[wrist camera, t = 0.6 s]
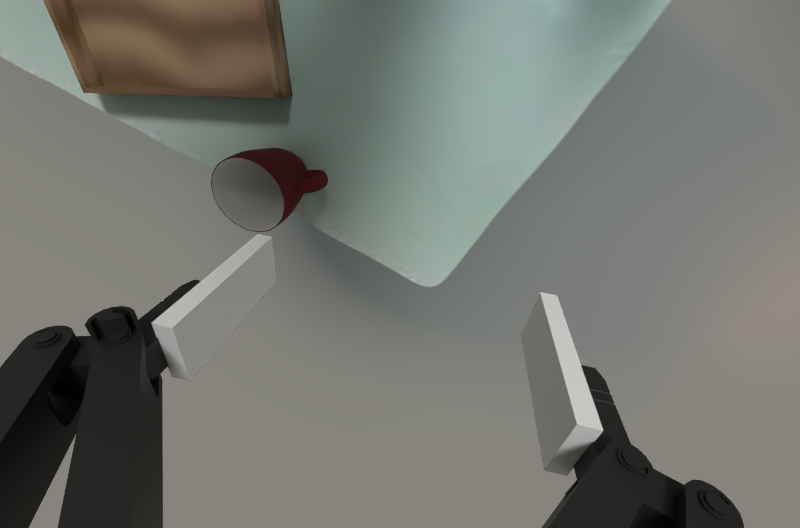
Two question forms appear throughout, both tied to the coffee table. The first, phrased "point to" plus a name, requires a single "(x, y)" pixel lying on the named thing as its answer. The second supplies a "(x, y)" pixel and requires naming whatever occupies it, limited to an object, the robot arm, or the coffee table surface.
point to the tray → (175, 46)
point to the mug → (263, 186)
